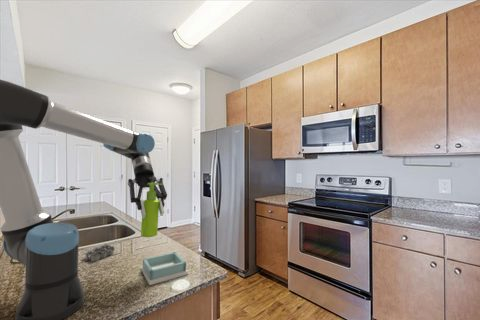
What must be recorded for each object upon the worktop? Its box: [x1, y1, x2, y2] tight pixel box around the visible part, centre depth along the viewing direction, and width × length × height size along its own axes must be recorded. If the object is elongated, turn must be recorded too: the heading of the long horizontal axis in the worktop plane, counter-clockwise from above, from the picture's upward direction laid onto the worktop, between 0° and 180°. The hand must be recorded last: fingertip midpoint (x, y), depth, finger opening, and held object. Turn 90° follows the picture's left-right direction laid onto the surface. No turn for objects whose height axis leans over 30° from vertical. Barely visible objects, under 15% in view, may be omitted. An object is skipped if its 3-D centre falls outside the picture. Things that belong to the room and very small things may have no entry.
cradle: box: [140, 251, 189, 286], centre depth 88 cm, size 14×14×4 cm
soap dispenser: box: [140, 182, 162, 238], centre depth 89 cm, size 6×7×20 cm
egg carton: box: [83, 243, 116, 262], centre depth 102 cm, size 11×8×4 cm
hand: (153, 215), depth 85 cm, fingers closed on soap dispenser, 6 cm apart
